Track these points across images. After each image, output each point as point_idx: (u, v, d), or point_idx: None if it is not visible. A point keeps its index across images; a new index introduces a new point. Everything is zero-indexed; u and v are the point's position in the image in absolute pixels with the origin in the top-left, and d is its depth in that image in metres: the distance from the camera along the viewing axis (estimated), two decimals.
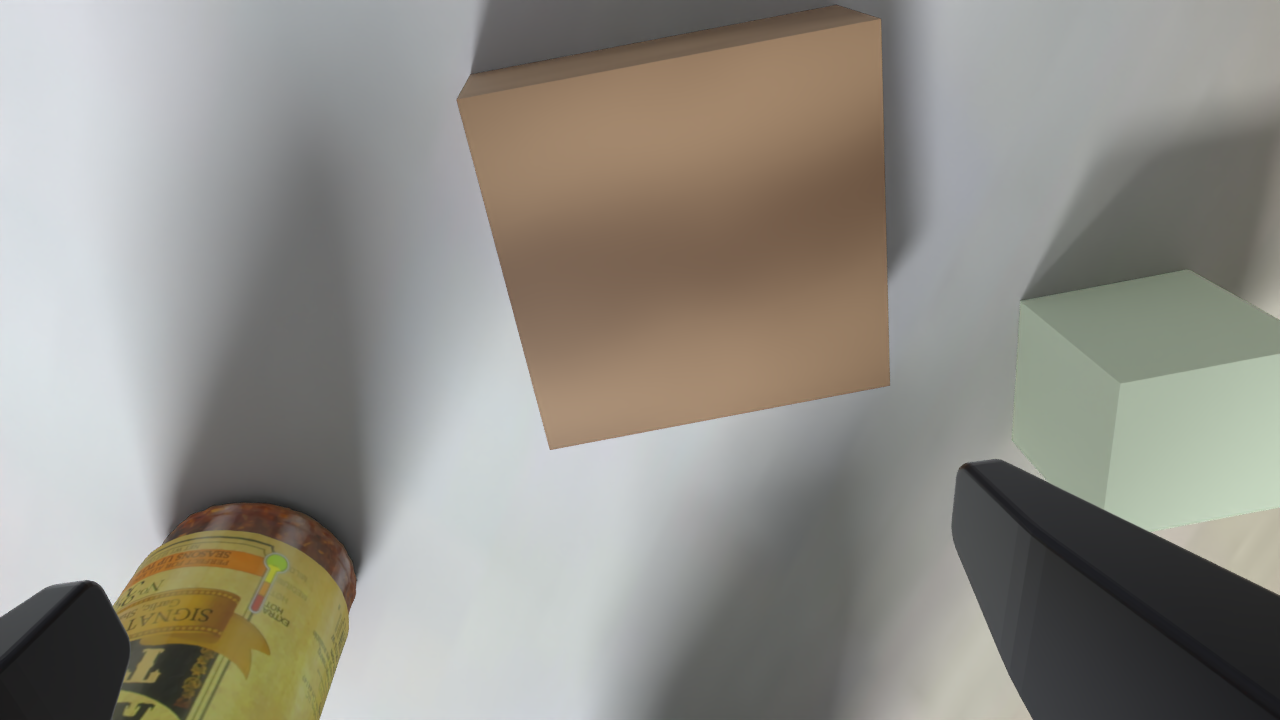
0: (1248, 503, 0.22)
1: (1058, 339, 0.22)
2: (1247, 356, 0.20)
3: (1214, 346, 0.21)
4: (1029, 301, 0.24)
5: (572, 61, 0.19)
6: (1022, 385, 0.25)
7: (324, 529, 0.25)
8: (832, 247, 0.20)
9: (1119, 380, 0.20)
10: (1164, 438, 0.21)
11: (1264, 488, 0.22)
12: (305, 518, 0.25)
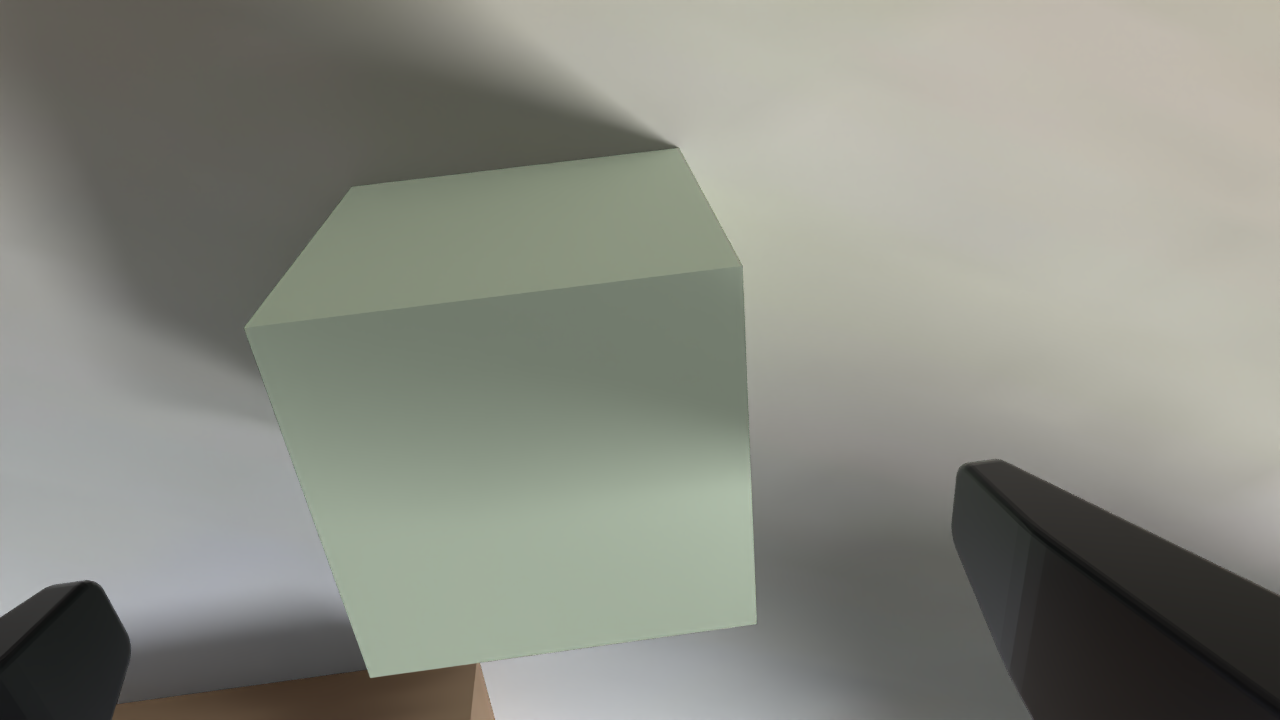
0: (713, 357, 0.09)
1: None
2: (299, 468, 0.09)
3: None
4: None
5: None
6: None
7: None
8: None
9: (372, 665, 0.11)
10: (500, 578, 0.10)
11: (671, 332, 0.09)
12: None
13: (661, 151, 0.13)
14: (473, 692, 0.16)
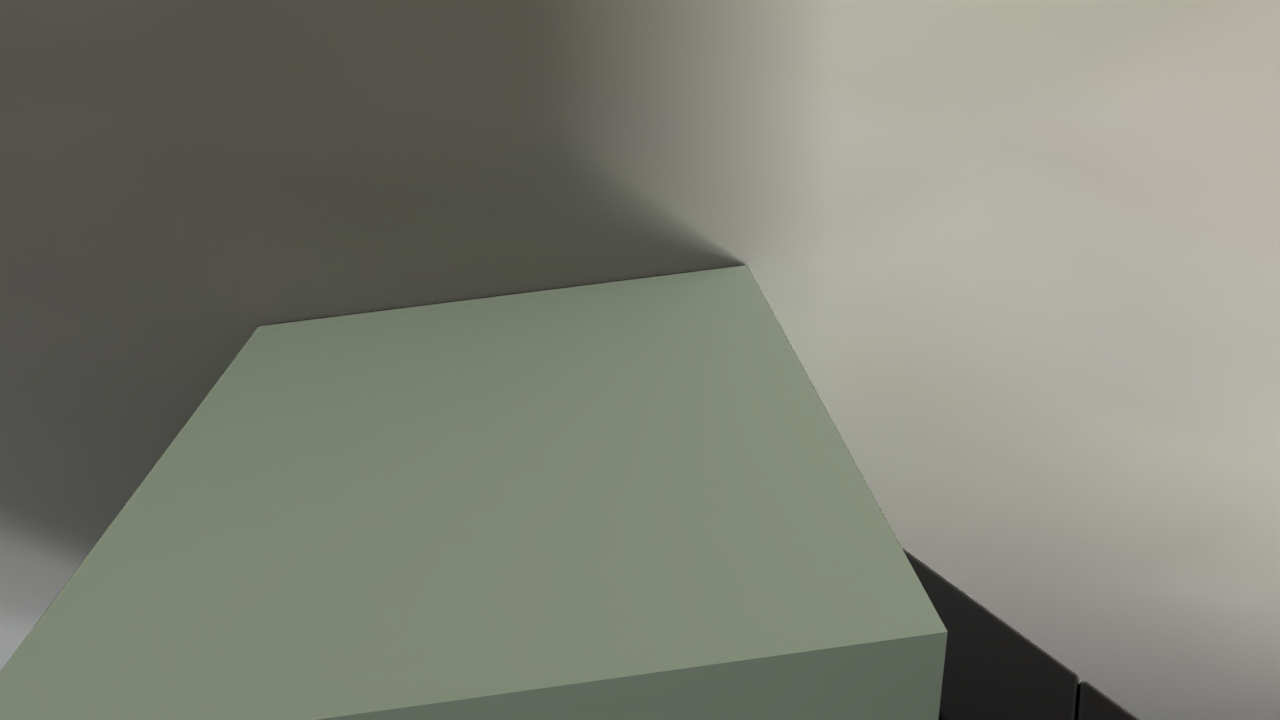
0: None
1: None
2: None
3: None
4: None
5: None
6: None
7: None
8: None
9: None
10: None
11: None
12: None
13: (723, 275, 0.08)
14: None
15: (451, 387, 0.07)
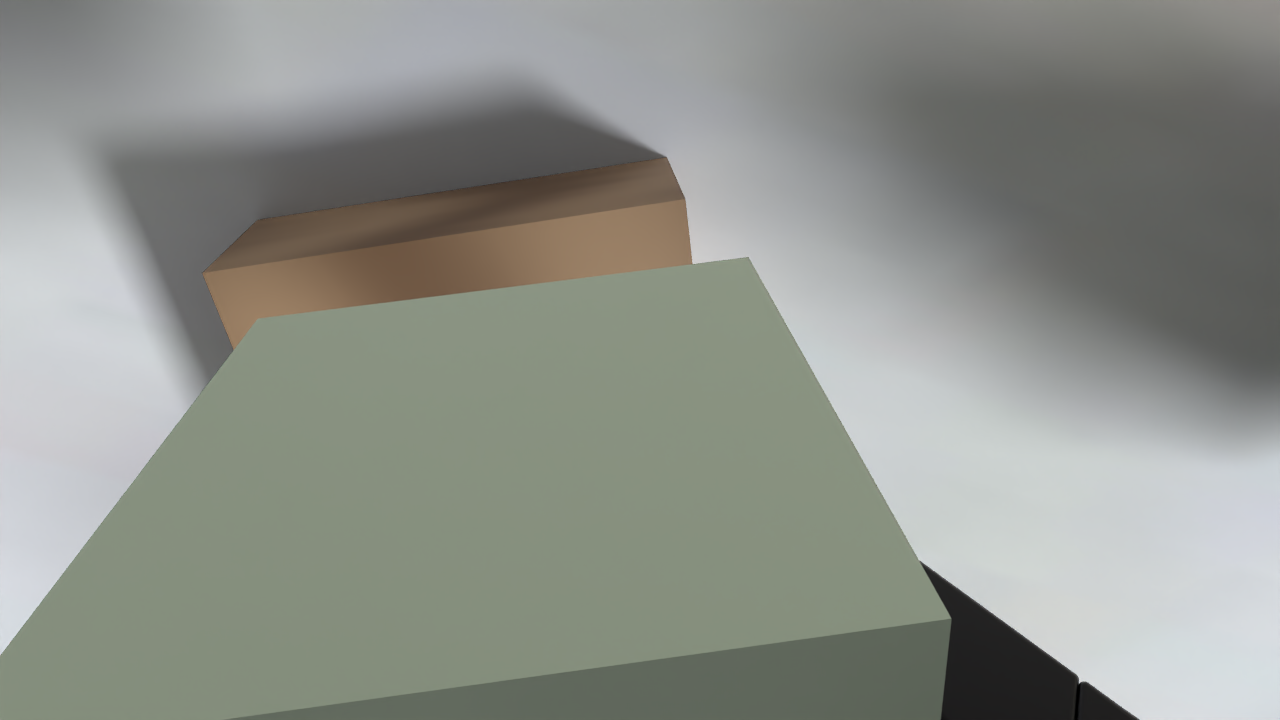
0: None
1: None
2: None
3: None
4: None
5: None
6: None
7: None
8: None
9: None
10: None
11: None
12: None
13: (724, 267, 0.08)
14: (671, 169, 0.17)
15: (451, 378, 0.07)
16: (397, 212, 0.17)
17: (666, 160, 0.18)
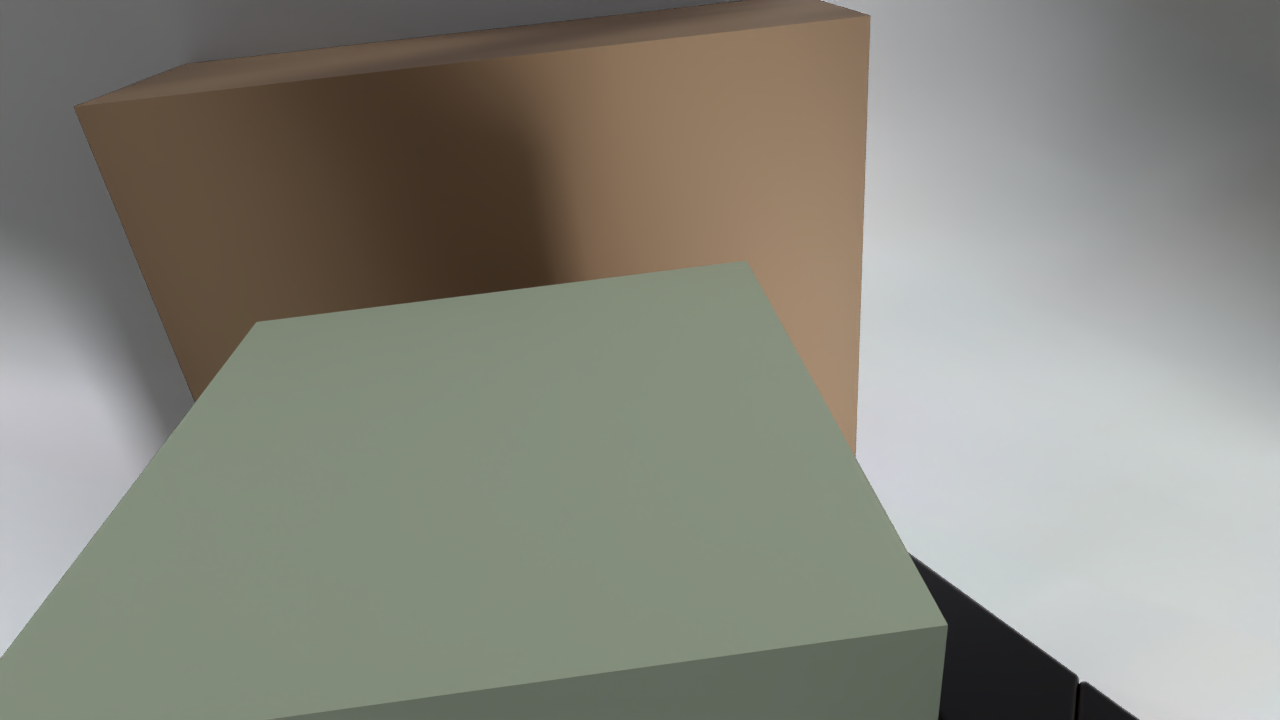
0: None
1: None
2: None
3: None
4: None
5: None
6: None
7: None
8: (528, 169, 0.10)
9: None
10: None
11: None
12: None
13: (722, 270, 0.08)
14: (817, 0, 0.11)
15: (449, 382, 0.07)
16: (399, 48, 0.11)
17: None
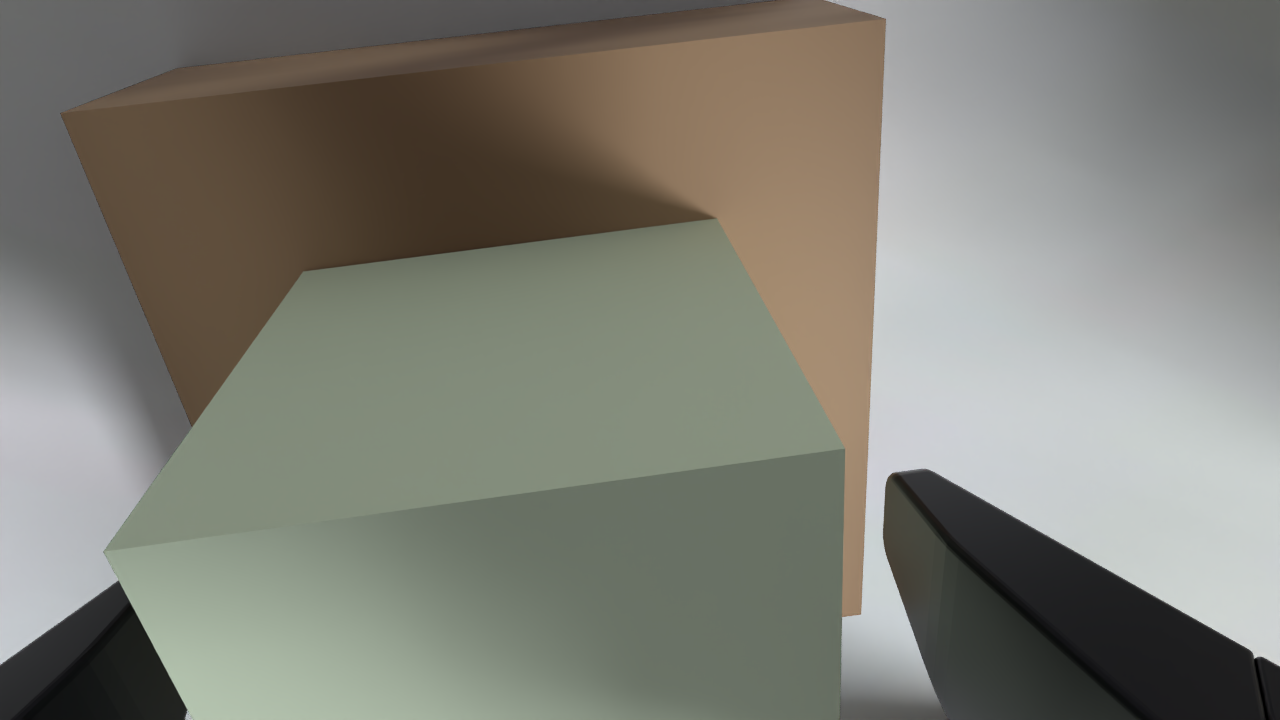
0: (795, 567, 0.06)
1: None
2: None
3: None
4: None
5: None
6: None
7: None
8: (531, 177, 0.10)
9: None
10: None
11: (739, 537, 0.06)
12: None
13: (696, 226, 0.10)
14: (829, 2, 0.11)
15: (471, 310, 0.08)
16: (398, 51, 0.11)
17: None
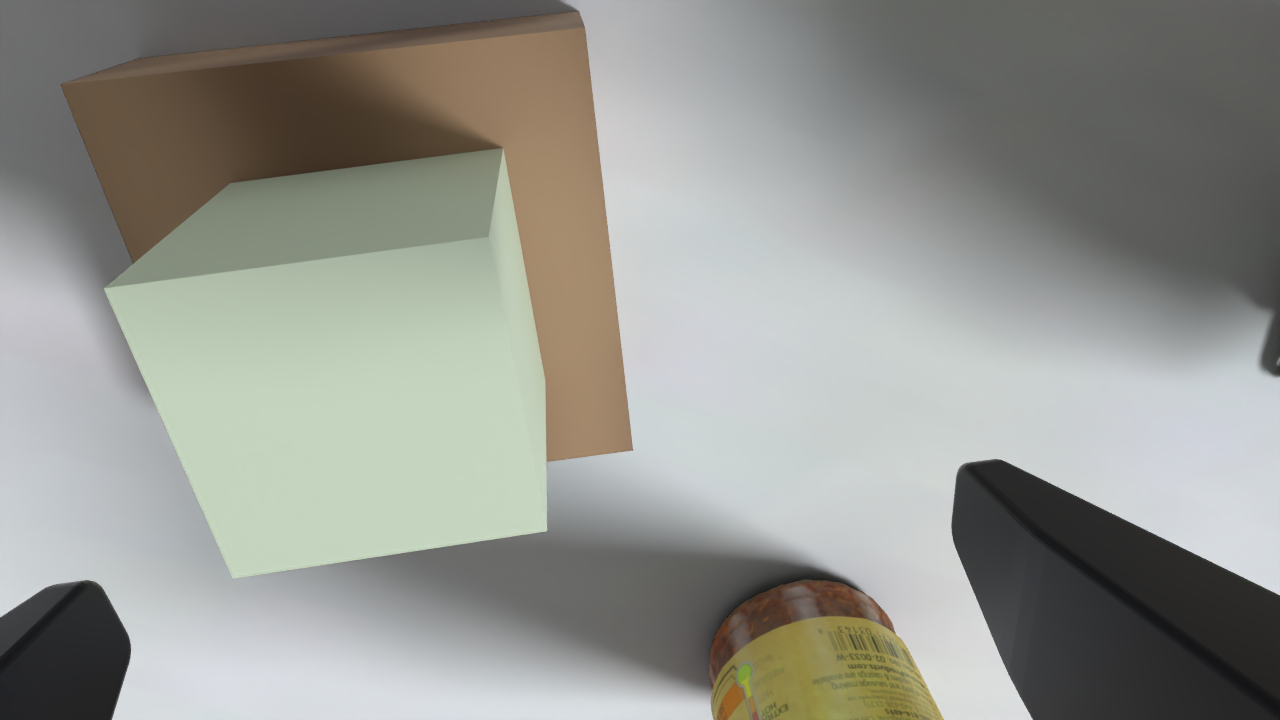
0: (476, 308, 0.11)
1: None
2: (159, 401, 0.12)
3: None
4: None
5: None
6: None
7: (754, 599, 0.25)
8: (365, 128, 0.15)
9: (233, 570, 0.13)
10: (330, 492, 0.13)
11: (439, 289, 0.11)
12: (737, 612, 0.25)
13: (487, 151, 0.15)
14: None
15: (327, 195, 0.14)
16: (286, 47, 0.16)
17: (577, 12, 0.17)
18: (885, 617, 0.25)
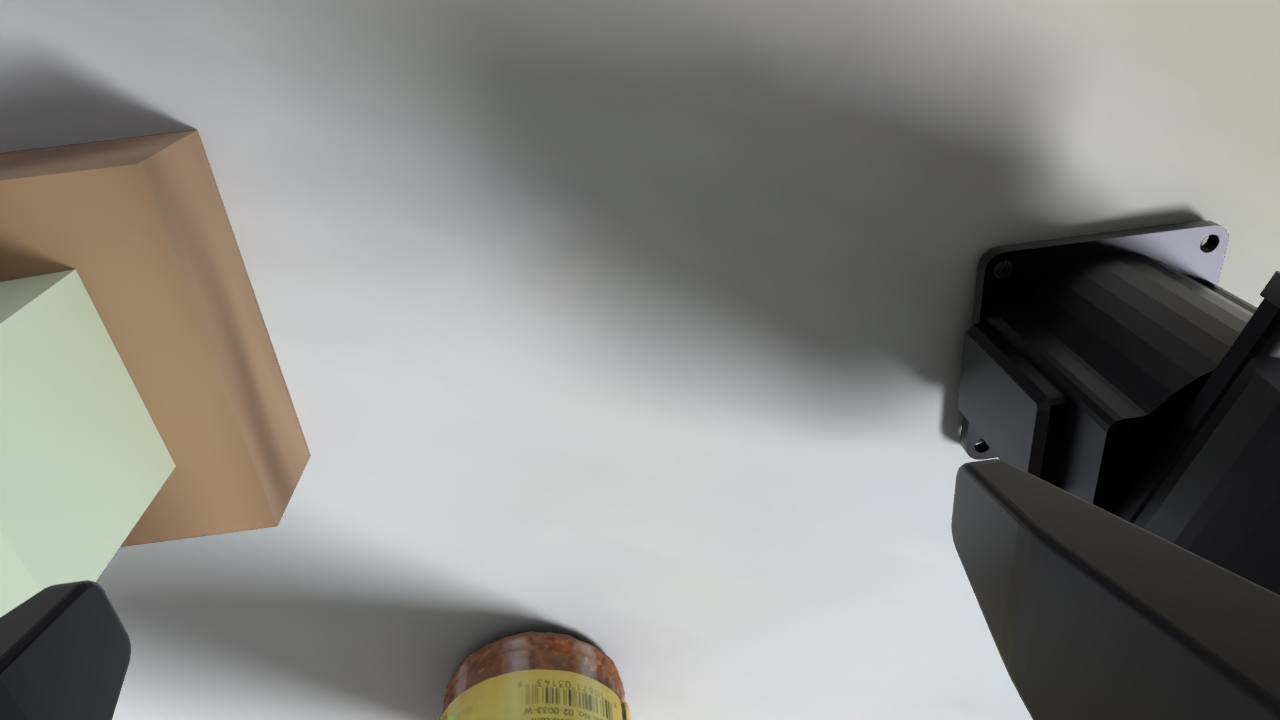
0: None
1: None
2: None
3: None
4: None
5: None
6: None
7: (479, 650, 0.26)
8: None
9: None
10: None
11: None
12: (465, 662, 0.26)
13: (57, 274, 0.17)
14: (182, 139, 0.18)
15: None
16: None
17: (193, 131, 0.19)
18: (606, 668, 0.26)
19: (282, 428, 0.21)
